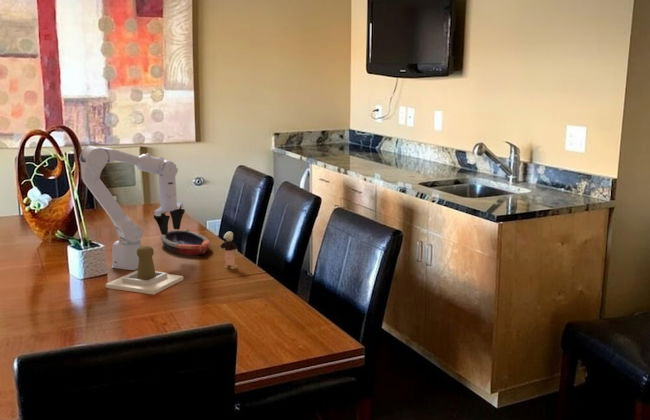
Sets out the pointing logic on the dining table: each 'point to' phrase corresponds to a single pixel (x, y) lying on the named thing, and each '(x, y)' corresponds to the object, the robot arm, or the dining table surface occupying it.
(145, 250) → the cork
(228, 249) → the grandmother figurine
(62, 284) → the dining table surface
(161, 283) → the holder board
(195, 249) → the dish
